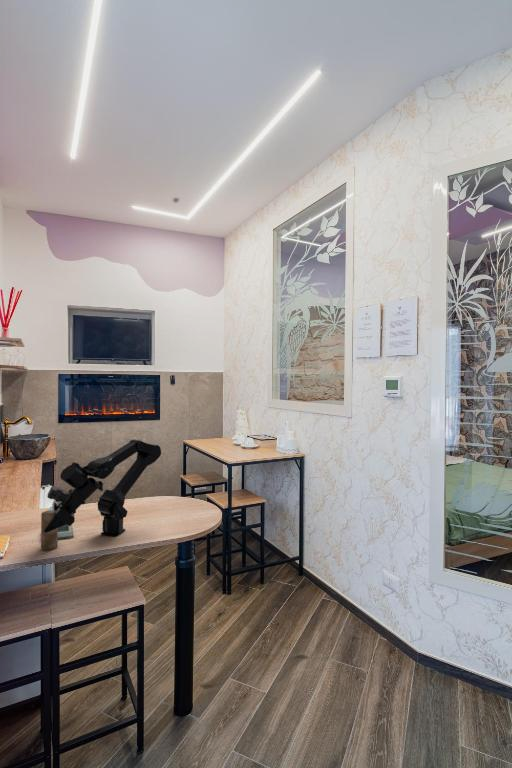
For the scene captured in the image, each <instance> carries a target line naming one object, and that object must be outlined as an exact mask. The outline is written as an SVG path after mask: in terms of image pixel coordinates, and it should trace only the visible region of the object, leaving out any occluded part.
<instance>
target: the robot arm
mask: <svg viewBox="0 0 512 768" xmlns="http://www.w3.org/2000/svg"><path fill="white" fill-rule="evenodd" d="M134 454H137V455H136V459H135V461H134V462H133V463H132V465H131V466H130V468H129V469H128V470H127V472H126V473H125V474H124V475H123V476H122V477H121V479H120V480H119V482H118V483H117V484H116V485H115V487H114V488H113V489H106V490H104V488H103V486H104V483H103V481H101V480H104V479H106V478H107V477H109V476H110V475H111V474H112V473H113V472H114V470H115V468H116V467H117V466H119V464H121V463H123V462H124V461H125V460H127V459H128V458H130V457H131V456H133V455H134ZM161 455H162V450H161V446H160V445H159V444H154V443H153V444H152V443H148V442H144V441H142V440H141V439H130V441H129V442H128V443H126V444H124V445H122V446H121V447H120V448H117V449H116V450H115V451H113V452H112V453H110V454H108V455H106V456H103V457H98V458H97V459H93V460H92V461H90V462H88V464H87V465H84V466H81V465H80V464H79V463H77V462H74V461H73V462H72V463H71V464H70V465H68V466H66V467H65V468H63V469H62V471H61V472H60V477H59V478H60V480H62V481H64V482H65V483H66V484H68V485H69V486H71V487H72V488H70V489H69V490H65V489H63V488H61V487H57V486H55V485H51V487H50V489H49V491H48V493H47V497H46V498H48V499H49V500H53V501H54V500H55V501H56V502H57V504H56V503H54V518H53V519H52V520H51V521H50V523H49V524H48V525H47V527H46V528H45V529H44V532H45V533H47V532H49V531H52V530H54V529H56V528H59V527H61V526H64V525H69V526H71V525H72V526H73V524H74V523H75V519H76V517H75V514H76V513H77V510H78V509H79V508H80V506H82V505H85V504H86V501H87V499H89V498H90V497H91V496H92V495H93V493H95V491H97V490H99V491H100V492H103V490H104V492H103V494H102V495H101V496H99V500H97V501H98V502H97V510H98V511H99V514H100V516H103V519H102V532H100V535H101V536H108V537H109V536H111V537H118V536H120V535H121V534H122V533H124V532H125V531H126V528H124V518H126V517H127V516H128V510H127V509H126V508H125V507H124V505H125V501H126V496H127V494H128V493H129V491H130V490H131V489H132V488H133V486H134V485H135V483H136V482H137V481H138V479H139V478H140V476H141V475H142V474H143V472H144V471H145V470H146V469H147V467H149V466H151V465H152V464H154V463H156V461H157V460H159V458H161ZM96 479H99V480H96ZM55 510H56V511H55Z"/></svg>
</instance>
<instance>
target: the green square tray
mask: <svg viewBox="0 0 512 768" xmlns="http://www.w3.org/2000/svg"><path fill="white" fill-rule="evenodd" d="M73 528H74V527H73V524H72V525H71V526H69V525H64V526H61V527H59V528H58V540H64V538H65V539H72V538H74V529H73Z"/></svg>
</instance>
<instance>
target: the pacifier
mask: <svg viewBox="0 0 512 768" xmlns="http://www.w3.org/2000/svg"><path fill="white" fill-rule="evenodd" d="M54 503H56V504H57V503H58V501H57V502H56V501H55V500H54V499H53V502H52V504H51V506H50V507H49V508H48V509H46V511H49V510H54Z"/></svg>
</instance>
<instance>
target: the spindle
mask: <svg viewBox="0 0 512 768" xmlns="http://www.w3.org/2000/svg"><path fill="white" fill-rule="evenodd" d="M55 511H56V510H55ZM40 515H41V516H40V517H41V519H40V520H41V526H40V527H41V529H40V530H41V531H40V550H41V551H42V552H51V551H54V550H56V549H57V548H58V540H59V539H58V528H56V529H54V530H52V531H49V532H47V533H45V532H44V529H45V528H46V527H47V525H48V524H49V523H50V521H51V520H52V519H53V518H54V510H49V511H47V510H45V511H42V512H41V514H40Z"/></svg>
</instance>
